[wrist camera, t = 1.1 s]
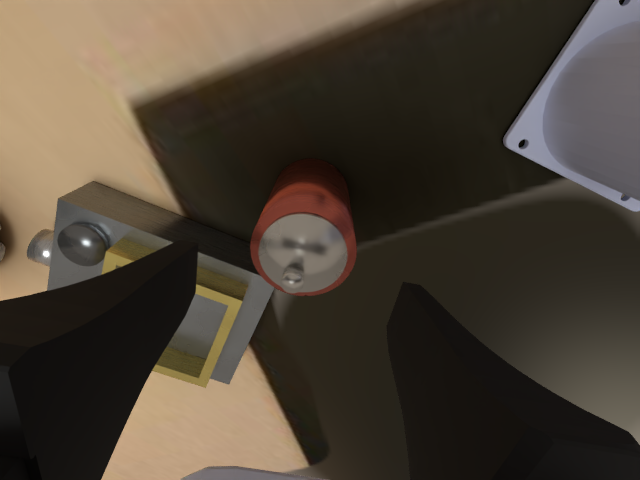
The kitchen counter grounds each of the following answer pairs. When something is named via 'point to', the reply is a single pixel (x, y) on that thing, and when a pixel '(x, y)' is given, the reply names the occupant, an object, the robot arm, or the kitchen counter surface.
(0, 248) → the bottle
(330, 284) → the red metal cylinder
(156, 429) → the kitchen counter surface
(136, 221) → the grey socket block
